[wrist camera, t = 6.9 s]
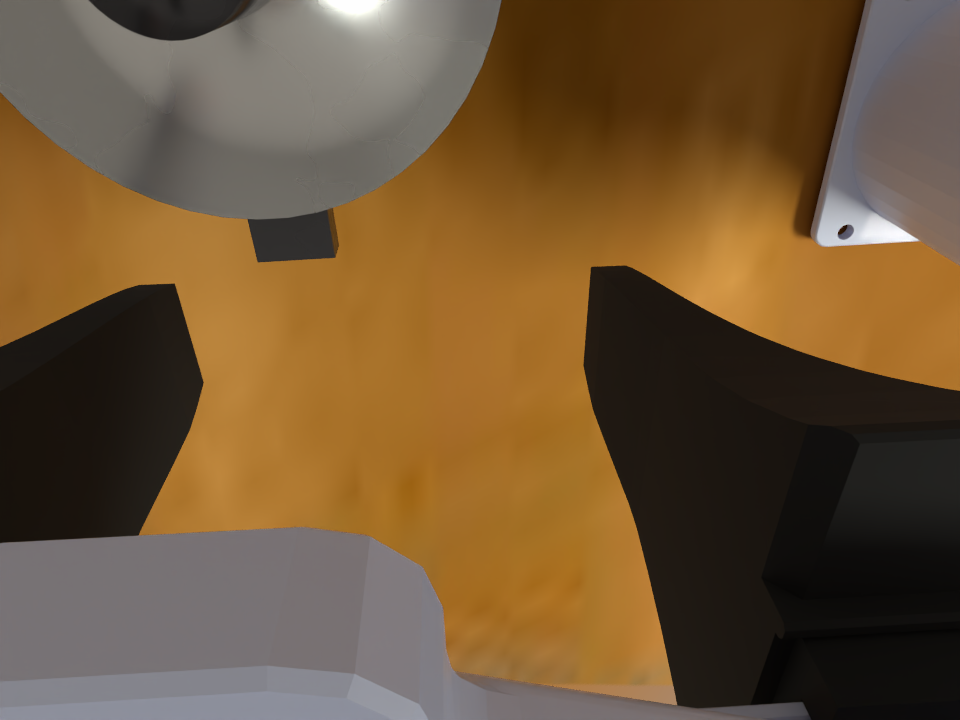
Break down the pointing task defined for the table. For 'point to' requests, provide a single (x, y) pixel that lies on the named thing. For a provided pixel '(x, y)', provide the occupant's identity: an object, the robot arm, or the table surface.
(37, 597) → the robot arm
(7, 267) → the table surface
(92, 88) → the lid
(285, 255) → the pot
